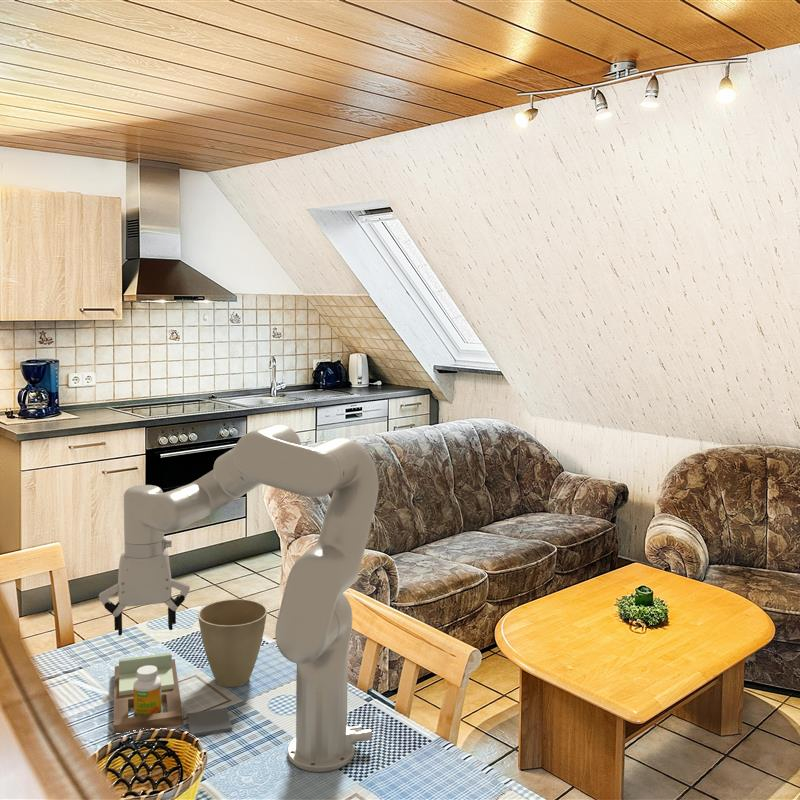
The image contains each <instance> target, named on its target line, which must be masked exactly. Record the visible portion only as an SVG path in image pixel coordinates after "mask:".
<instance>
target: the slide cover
mask: <svg viewBox="0 0 800 800" xmlns="http://www.w3.org/2000/svg"><path fill="white" fill-rule="evenodd" d="M172 654H173V653H172V652H166V653H157V654H150V655H141V656H134V657H132V656H131V657H126V658H118V666H119V696H123V695H131V694H134V688H133V687H134V682H135V680H136V679H137V670H138V669H139V668H140V667H143V666H148V665H151V666H155V667H157V673H158V674H157V677H159V678H160V680H161V690H167V689H174V680H173V673H172V659H173V658H172V656H173V655H172Z"/></svg>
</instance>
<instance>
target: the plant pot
mask: <svg viewBox="0 0 800 800" xmlns="http://www.w3.org/2000/svg"><path fill="white" fill-rule="evenodd" d="M267 612H268V609H267V607H266V606H265V605H264V604H263V603H261V602H257V601H255V600H252V599H243V598H242V599H240V598H233V599H224V600H219V601H214V602H211V603H209V604H207V605H205V606H203V607H202V608H201V609H199V611H198V613H197V618H198V623H199V628H200V636H201V639H202V644H203V649H204V651H205V656H206V659H207V662H208V665H209V667H210V670H211V673H212V675H213V677H214V680H215V682H216V683H217V685H219V686H220V687H226V688H236V687H240V686H243V685H245V684H247V683H248V682H249V680H250V678H251V676H252V673H253V670H254V667H255V666H256V663H257V660H258V655H259V653H260V649H261V645H262V643H263V642H262V641H263V637H264V631H265V627H266V626H265V624H266V621H267Z"/></svg>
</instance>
